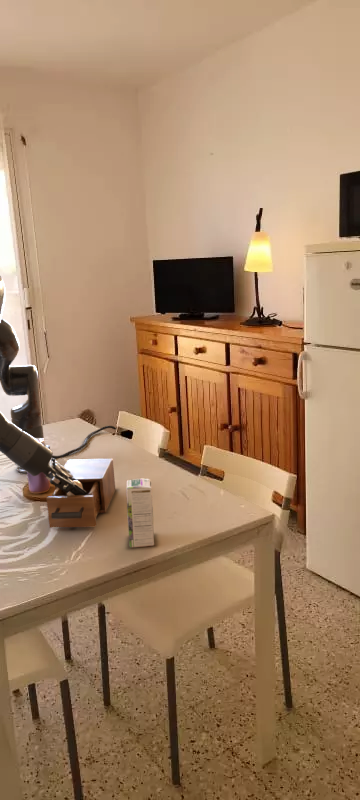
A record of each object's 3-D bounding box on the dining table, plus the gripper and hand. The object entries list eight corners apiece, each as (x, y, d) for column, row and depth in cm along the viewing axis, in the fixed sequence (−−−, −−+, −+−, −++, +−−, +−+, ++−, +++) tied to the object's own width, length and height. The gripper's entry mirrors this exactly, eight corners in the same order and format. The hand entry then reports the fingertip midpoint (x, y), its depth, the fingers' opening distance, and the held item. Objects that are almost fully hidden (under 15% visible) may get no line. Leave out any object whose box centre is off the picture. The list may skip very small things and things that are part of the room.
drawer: (91, 535, 145) (88, 504, 143) (44, 536, 146) (40, 505, 144) (106, 502, 164) (103, 475, 162) (64, 503, 165) (61, 476, 163)
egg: (69, 504, 157) (66, 477, 155) (87, 504, 157) (85, 477, 155) (64, 512, 153) (61, 484, 151) (83, 512, 152) (81, 484, 150)
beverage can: (45, 494, 174) (39, 444, 170) (25, 494, 175) (19, 444, 171) (53, 486, 179) (48, 437, 176) (34, 486, 181) (28, 437, 177)
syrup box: (129, 537, 145) (125, 479, 142) (154, 534, 146) (150, 477, 142) (129, 548, 140) (125, 488, 136) (155, 546, 140) (151, 486, 137)
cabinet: (105, 513, 159) (102, 478, 157) (57, 514, 160) (54, 479, 158) (115, 490, 174) (112, 458, 172) (71, 491, 175) (68, 459, 173)
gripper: (39, 449, 142) (96, 491, 148) (37, 433, 155) (89, 471, 161) (18, 474, 142) (76, 515, 148) (17, 456, 155) (70, 493, 161)
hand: (82, 492), depth 154 cm, fingers closed on egg, 4 cm apart
